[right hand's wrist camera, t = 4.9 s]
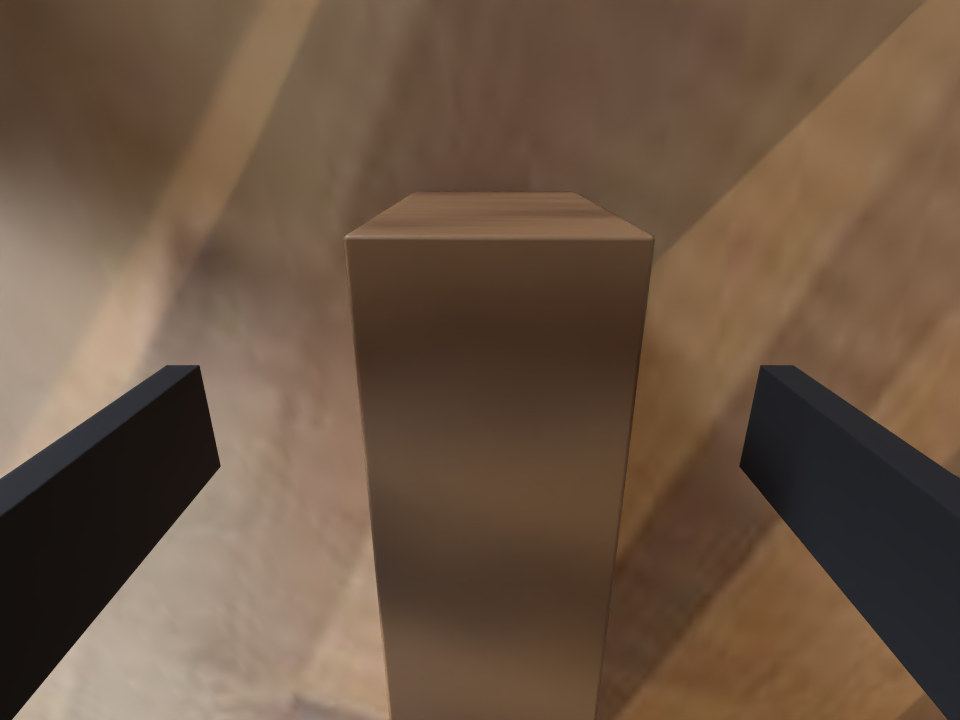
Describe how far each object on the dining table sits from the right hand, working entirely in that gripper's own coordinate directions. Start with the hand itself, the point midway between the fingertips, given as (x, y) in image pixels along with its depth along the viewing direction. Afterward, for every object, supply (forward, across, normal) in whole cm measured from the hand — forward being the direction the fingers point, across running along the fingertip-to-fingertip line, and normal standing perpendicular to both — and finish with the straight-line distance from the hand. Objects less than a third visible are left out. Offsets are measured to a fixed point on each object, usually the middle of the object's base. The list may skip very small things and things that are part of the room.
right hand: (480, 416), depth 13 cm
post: (+6, 0, -32) cm, 32 cm away
